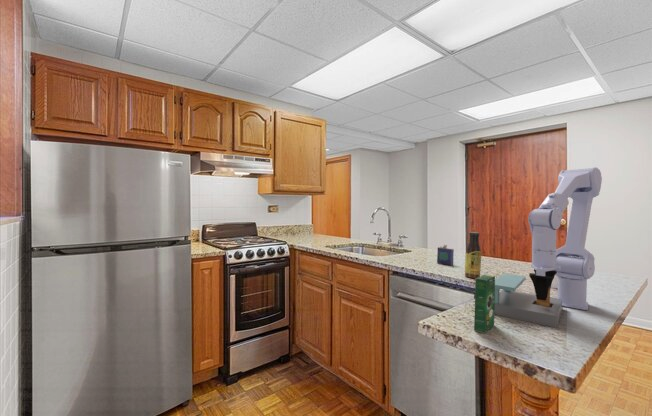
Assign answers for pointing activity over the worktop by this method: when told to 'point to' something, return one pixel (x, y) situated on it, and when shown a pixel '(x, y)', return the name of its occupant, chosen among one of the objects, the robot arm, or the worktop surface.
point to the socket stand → (523, 302)
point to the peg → (543, 302)
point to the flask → (445, 256)
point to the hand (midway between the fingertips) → (543, 296)
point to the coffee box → (484, 303)
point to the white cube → (555, 282)
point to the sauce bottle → (473, 257)
